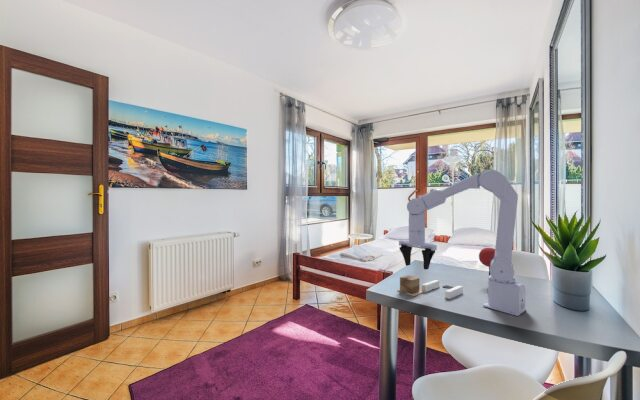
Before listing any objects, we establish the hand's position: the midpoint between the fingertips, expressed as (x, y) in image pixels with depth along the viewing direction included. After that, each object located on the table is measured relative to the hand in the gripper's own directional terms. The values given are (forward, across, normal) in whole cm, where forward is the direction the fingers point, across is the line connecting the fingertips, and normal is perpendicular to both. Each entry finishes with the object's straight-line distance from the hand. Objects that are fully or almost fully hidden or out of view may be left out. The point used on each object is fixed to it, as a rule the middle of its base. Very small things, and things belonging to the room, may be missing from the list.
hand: (416, 267), depth 100 cm
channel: (+9, -6, -7) cm, 13 cm away
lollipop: (+10, -13, -32) cm, 36 cm away
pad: (+9, +2, +2) cm, 9 cm away
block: (+9, +2, +2) cm, 9 cm away
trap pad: (+9, -6, -15) cm, 18 cm away
